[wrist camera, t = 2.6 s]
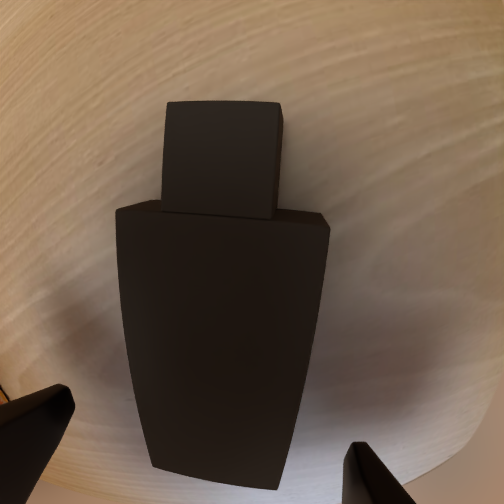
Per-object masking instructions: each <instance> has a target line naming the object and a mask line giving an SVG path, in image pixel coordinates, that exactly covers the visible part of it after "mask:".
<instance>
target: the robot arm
mask: <svg viewBox="0 0 504 504" xmlns="http://www.w3.org/2000/svg"><path fill="white" fill-rule="evenodd" d="M74 411H75V402H74V399H73V396H72V393H71V391H70V389H69V387H67V386H65V385H62V384H56V385H53V386H50V387H48V388H45V389H42V390H40V391H37V392H34V393H32V394H29V395H26V396H24V397H21V398H18V399H15V400H13V401H10V402H7V403H4V404H1V405H0V504H26V502H27V500H28V498H29V496H30V494H31V492H32V491H33V489H34V487H35V485H36V483H37V481H38V480H39V478H40V476H41V474H42V472H43V471H44V469H45V467H46V465H47V464H48V462H49V460H50V459H51V457H52V455H53V453H54V452H55V450H56V448H57V447H58V445H59V443H60V441H61V439H62V437H63V435H64V432H65V430H66V428H67V426H68V424H69V421H70V419H71V417H72V415H73V413H74ZM342 504H416V503H415V501H414V500H413V499H412V498H411V497H410V495H409V494H408V493H407V492H406V491H405V489H404V488H403V487H402V486H401V484H400V483H399V482H398V481H397V480H396V478H395V477H394V476H393V475H392V473H391V472H390V471H389V470H388V468H387V467H386V466H385V465H384V464H383V462H382V461H381V460H380V459H379V457H378V456H377V455H376V454H375V452H374V451H373V450H372V449H371V447H370V446H369V445H368V444H367V443H366V442H352V443H351V445H350V447H349V449H348V451H347V454H346V456H345V458H344V463H343V489H342Z"/></svg>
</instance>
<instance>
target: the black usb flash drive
mask: <svg viewBox="0 0 504 504" xmlns="http://www.w3.org/2000/svg"><path fill="white" fill-rule="evenodd" d="M282 134H283V115H282V110H281V105H280V103H277V102H259V101H180V102H168V103H167V109H166V120H165V133H164V148H163V166H162V192H161V200H149V201H145V202H141V203H138V204H134V205H130V206H126V207H122V208H119V209H116V212H115V213H116V247H117V265H118V279H119V291H120V301H121V311H122V319H123V327H124V335H125V342H126V349H127V355H128V361H129V367H130V373H131V378H132V384H133V389H134V394H135V399H136V403H137V408H138V412H139V417H140V421H141V425H142V429H143V433H144V437H145V441H146V445H147V449H148V452H149V456H150V459H151V463H152V466H153V467H155V468H158V469H162V470H165V471H169V472H173V473H177V474H181V475H185V476H189V477H193V478H198V479H202V480H207V481H212V482H218V483H223V484H229V485H235V486H242V487H250V488H258V489H267V490H277V489H278V487H279V483H280V480H281V476H282V473H283V469H284V466H285V462H286V459H287V455H288V451H289V447H290V443H291V440H292V436H293V432H294V428H295V424H296V419H297V415H298V411H299V407H300V402H301V398H302V393H303V389H304V384H305V380H306V375H307V370H308V365H309V360H310V355H311V350H312V345H313V340H314V334H315V329H316V323H317V317H318V312H319V306H320V300H321V293H322V287H323V281H324V274H325V267H326V260H327V253H328V245H329V237H330V226H329V225H328V223H327V222H326V220H325V219H324V217H323V215H322V214H321V213H315V212H306V211H296V210H286V209H276V208H277V200H278V188H279V175H280V162H281V148H282Z"/></svg>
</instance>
